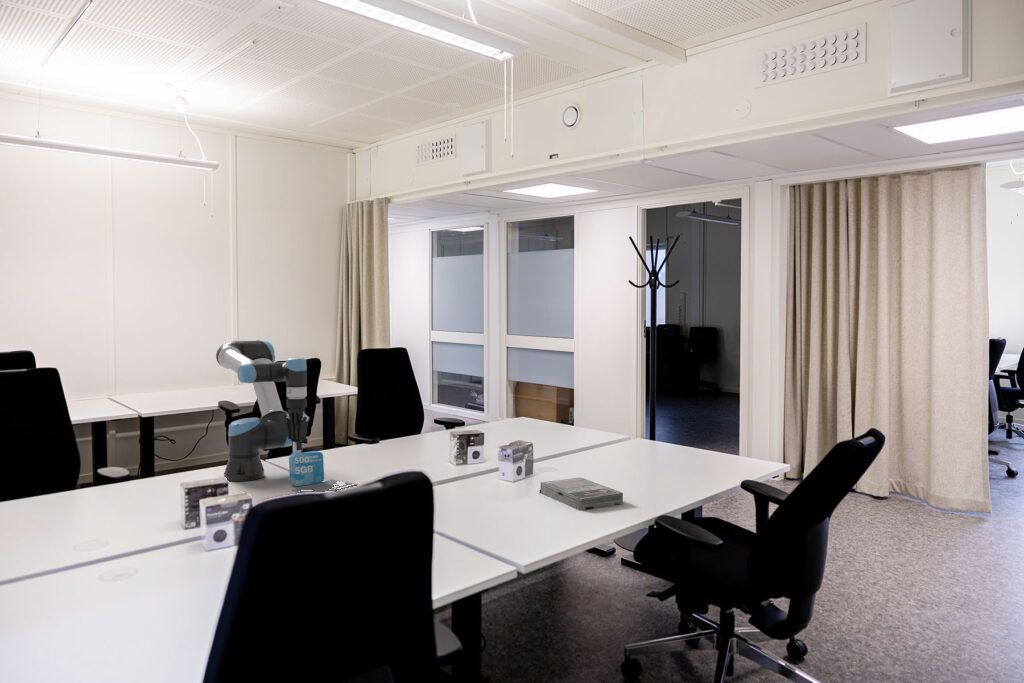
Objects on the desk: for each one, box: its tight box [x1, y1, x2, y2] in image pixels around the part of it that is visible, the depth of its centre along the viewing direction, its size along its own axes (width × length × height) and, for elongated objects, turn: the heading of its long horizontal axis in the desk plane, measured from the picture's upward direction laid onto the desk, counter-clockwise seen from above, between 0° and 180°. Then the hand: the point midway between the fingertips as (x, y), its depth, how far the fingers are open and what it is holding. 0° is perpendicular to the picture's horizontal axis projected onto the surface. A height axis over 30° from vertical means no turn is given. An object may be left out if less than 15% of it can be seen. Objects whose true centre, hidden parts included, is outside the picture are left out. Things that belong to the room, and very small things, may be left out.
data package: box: [288, 450, 325, 487], centre depth 265 cm, size 12×4×12 cm, turn 123°
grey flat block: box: [538, 477, 624, 511], centre depth 247 cm, size 18×27×4 cm
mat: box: [291, 479, 359, 494], centre depth 259 cm, size 14×20×1 cm
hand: (296, 458), depth 267 cm, fingers closed
